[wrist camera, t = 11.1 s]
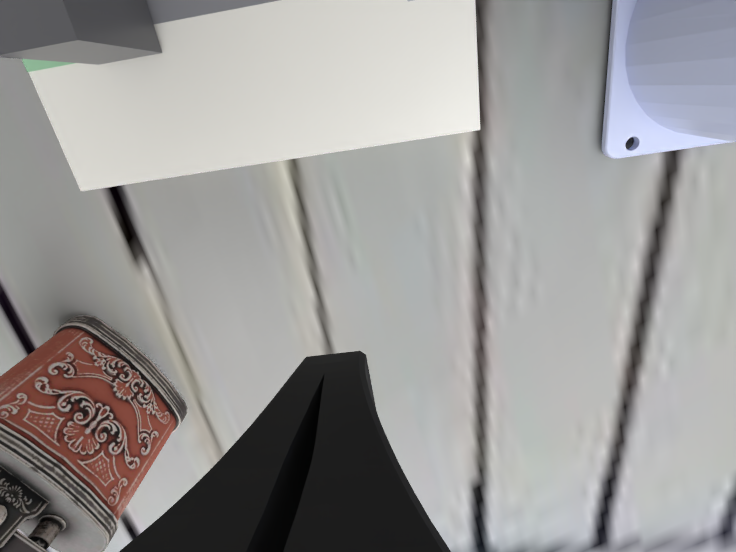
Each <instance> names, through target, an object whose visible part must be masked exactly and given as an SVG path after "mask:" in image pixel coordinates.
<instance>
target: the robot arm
mask: <svg viewBox="0 0 736 552" xmlns="http://www.w3.org/2000/svg"><path fill="white" fill-rule="evenodd" d="M631 137H633V138H634V143H633V145H632V146H631V147H630V148H629V149H626V146H625V144H626V141H627V140H628V139H629V138H631ZM728 142H736V0H613V4H612V17H611V30H610V43H609V56H608V69H607V82H606V95H605V108H604V121H603V134H602V152H603V153H604V155H606V156H608V157H610V158H624V157H631V156H638V155H645V154H652V153H659V152H666V151H673V150H680V149H687V148H694V147H701V146H707V145H714V144H721V143H728ZM120 552H451V551H450V550H449V548H448V547H447V545H446V543H445V542H444V540H443V539H442V537H441V536H440V534H439V533H438V531H437V530H436V528H435V527H434V525H433V523H432V522H431V520H430V519H429V517H428V515H427V513H426V512H425V510H424V508H423V507H422V505H421V503H420V501H419V500H418V498H417V496H416V495H415V493H414V491H413V489H412V487H411V485H410V484H409V482H408V480H407V478H406V476H405V474H404V472H403V471H402V469H401V467H400V465H399V463H398V461H397V459H396V456H395V454H394V452H393V450H392V448H391V446H390V444H389V441H388V439H387V437H386V435H385V432H384V430H383V427H382V425H381V423H380V420H379V417H378V415H377V412H376V407H375V402H374V396H373V391H372V385H371V380H370V375H369V369H368V364H367V358H366V355H365V354H364V353H362V352H361V351H355V352H346V353H337V354H328V355H319V356H310V357H306V358H305V359H304V360H303V362H302V363H301V364H300V365H299V366H298V368H297V369H296V370H295V371H294V373H293V374H292V375H291V377H290V378H289V379H288V380H287V382H286V383H285V384H284V386H283V387H282V388H281V389H280V391H279V392H278V393H277V394H276V396H275V397H274V398H273V399H272V401H271V402H270V403H269V404H268V406H267V407H266V408H265V409H264V410H263V412H262V413H261V414H260V415H259V416H258V418H257V419H256V420H255V421H254V422H253V424H252V425H251V426H250V427H249V428H248V429H247V431H246V432H245V433H244V434H243V435H242V436H241V437H240V438H239V439H238V441H237V442H236V443H235V444H234V445H233V446H232V447H231V448H230V449H229V451H228V452H227V453H226V454H225V455H224V456H223V457H222V458H221V459H220V460H219V461H218V462H217V464H216V465H215V466H214V467H213V468H212V469H211V470H210V471H209V472H208V473H207V474H206V475H205V476H204V477H203V478H202V479H201V480H200V481H199V482H198V483H197V484H196V485H194V486H193V487H192V488H191V489H190V490H189V491H188V492H187V493H186V494H185V495H184V496H183V497H182V498H181V499H180V500H179V501H177V502H176V503H175V504H174V505H173V506H172V507H171V508H170V509H169V510H168V511H167V512H165V513H164V514H163V515H162V516H161V517H160V518H159V519H157V520H156V521H155V522H154V523H153V524H152V525H150V526H149V527H148V528H147V529H146V530H144V531H143V532H142V533H141V534H140V535H139V536H137V537H136V538H135V539H134V540H133V541H131V542H130V543H129V544H128V545H127V546H125V547H124V548H123V549H122V550H121V551H120Z"/></svg>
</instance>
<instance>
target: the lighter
mask: <svg viewBox="0 0 736 552" xmlns="http://www.w3.org/2000/svg"><path fill="white" fill-rule="evenodd" d="M186 414H187V406H186V404H185V402H184V401H183V399H182V398H181V397H180V395H179V394H178V392H177V391H176V390H175V388H174V387H173V385H172V384H171V383H170V381H169V380H168V379H167V378H166V377H165V376H164V375H163V374H162V372H161V371H160V370H159V369H158V368H157V367H156V366H155V365H154V363H153V362H152V361H151V360H150V359H149V358H148V357H146V356H145V355H144V354H143V353H142V352H141V351H140V350H139V349H137V348H136V347H135V346H134V345H133V344H132V343H131V342H130V341H128V340H127V339H126V338H125V337H123V336H122V335H121V334H119V333H118V332H117V331H115V330H114V329H112V328H111V327H110V326H108V325H107V324H106V323H104V322H103V321H102V320H100V319H98V318H96V317H93V316H89V315H79V316H76V317H74V318H71V319H70V320H68V321H67V322H66V323H64V324H63V325H62V326H60V327H59V328H58V329H57V330H56V331H55V332H54V335H53V337H52V338H51V339H49V340H48V341H47V342H45V343H44V344H43V345H41V346H40V347H39V348H37V349H36V350H35V351H33V352H32V353H31V354H29V355H28V356H27V357H26V358H24V359H23V360H22V361H20V362H19V363H18V364H16V365H15V366H14V367H12V368H11V369H10V370H8V371H7V372H6V373H4V374H3V375H2V376H0V552H48V551H46V550H45V549H47V548H48V547H49V546H50V547H52V548H53V549H55V550H57V551H59V552H103V551H104V550H105V549H106V547H107V545H108V544H109V542H110V541H111V539H112V537H113V536H114V534H115V532H116V530H117V528H118V519H119V518H120V516H121V514H122V513H123V511H124V509H125V508H126V506H127V505H128V503H129V501H130V500H131V498H132V496H133V495H134V493H135V491H136V490H137V488H138V487H139V485H140V483H141V482H142V480H143V478H144V477H145V475H146V474H147V472H148V470H149V469H150V467H151V465H152V464H153V462H154V460H155V459H156V457H157V456H158V454H159V452H160V451H161V449H162V447H163V446H164V444H165V443H166V441H167V439H168V438H169V436H170V434H172V433H173V432H175V431H176V430H177V429H178V428H179V426H180V424H181V423H182V421H183V419H184V418H185V416H186ZM17 529H20V530H21V531H23V532H24V533H26V534H28V535H29V536H28V538H27V537H26V536H25V535H23V534H22V533H20V532H19V531H17Z"/></svg>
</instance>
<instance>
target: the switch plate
mask: <svg viewBox="0 0 736 552" xmlns="http://www.w3.org/2000/svg"><path fill="white" fill-rule="evenodd" d="M146 2H147V5H148V8H149V11H150V14H151V18H152V21H153V24H154V27H155V30H156V34H157V37H158V40H159V43H160V46H161V49H162V53H160V54H154V55H149V56H143V57H138V58H133V59H127V60H122V61H116V62H111V63H105V64H100V65H96V64H83V63H70V62H57V61H44V60H31V59H22V61H23V63H24V66H25V68H26V70H27V72H29V75H30V77H31V79H32V81H33V84H34V86H35V88H36V90H37V93H38V95H39V97H40V100H41V102H42V104H43V106H44V109H45V111H46V113H47V115H48V118H49V120H50V122H51V125H52V127H53V129H54V131H55V134H56V136H57V138H58V140H59V143H60V145H61V147H62V150H63V152H64V154H65V156H66V159H67V161H68V163H69V165H70V168H71V170H72V172H73V175H74V177H75V179H76V181H77V184H78V186H79V188H80V190H81V191H87V190H93V189H100V188H106V187H113V186H119V185H126V184H132V183H139V182H145V181H152V180H158V179H165V178H171V177H178V176H184V175H191V174H197V173H204V172H210V171H217V170H223V169H230V168H236V167H243V166H249V165H255V164H262V163H268V162H275V161H281V160H288V159H294V158H301V157H307V156H314V155H320V154H327V153H333V152H340V151H346V150H353V149H359V148H366V147H372V146H379V145H385V144H392V143H398V142H405V141H411V140H417V139H424V138H430V137H437V136H443V135H450V134H456V133H463V132H469V131H476V130H480V111H479V85H478V60H477V34H476V8H475V0H146Z"/></svg>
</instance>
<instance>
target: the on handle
mask: <svg viewBox="0 0 736 552" xmlns="http://www.w3.org/2000/svg"><path fill="white" fill-rule="evenodd" d="M160 53H162V49H161V46H160V43H159V40H158V37H157V34H156V30H155V27H154V24H153V21H152V18H151V14H150V11H149V8H148V5H147V2H146V0H0V57H5V58H18V59H31V60H44V61H57V62H70V63H83V64H96V65H100V64H105V63H111V62H116V61H122V60H127V59H133V58H138V57H143V56H149V55H154V54H160Z"/></svg>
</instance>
